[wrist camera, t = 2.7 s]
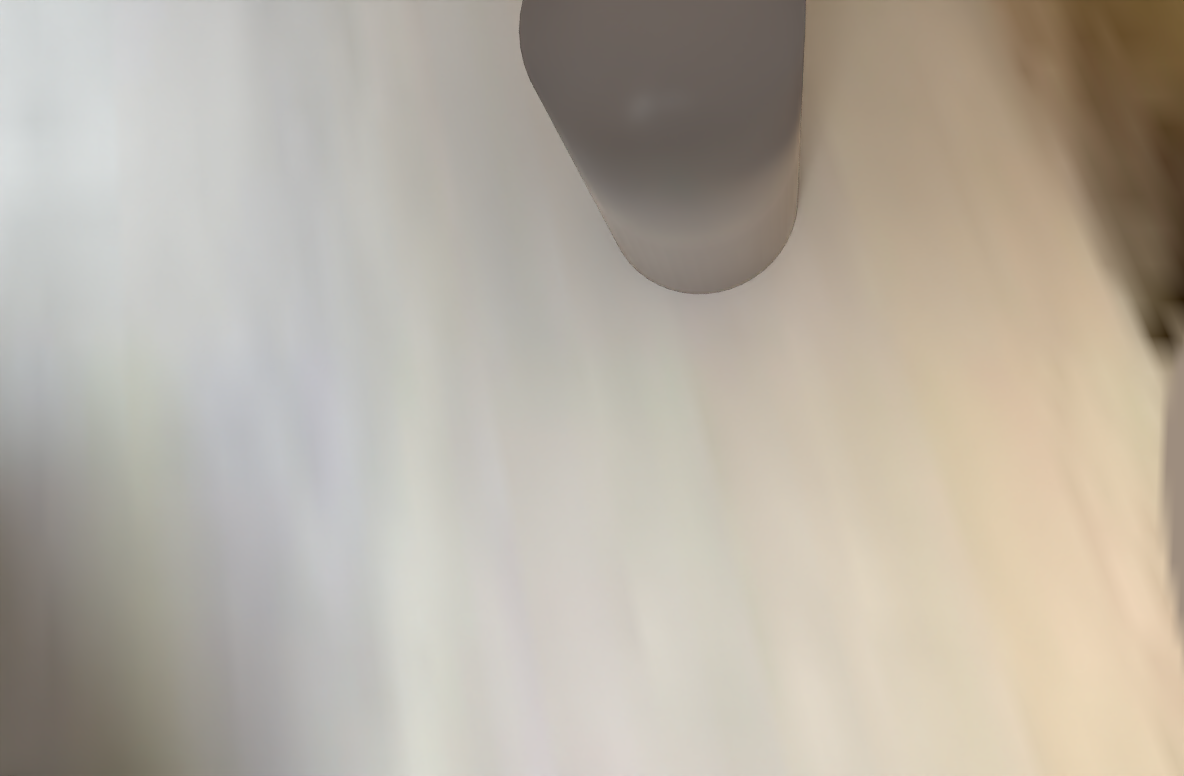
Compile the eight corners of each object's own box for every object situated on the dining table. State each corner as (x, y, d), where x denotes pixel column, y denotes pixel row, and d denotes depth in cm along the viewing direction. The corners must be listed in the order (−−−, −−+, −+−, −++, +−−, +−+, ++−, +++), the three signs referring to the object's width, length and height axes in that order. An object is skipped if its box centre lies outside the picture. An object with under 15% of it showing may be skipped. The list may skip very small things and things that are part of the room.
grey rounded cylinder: (571, 212, 29) (463, 37, 19) (696, 77, 29) (652, -169, 19) (707, 332, 27) (666, 210, 18) (838, 191, 27) (868, -8, 18)
